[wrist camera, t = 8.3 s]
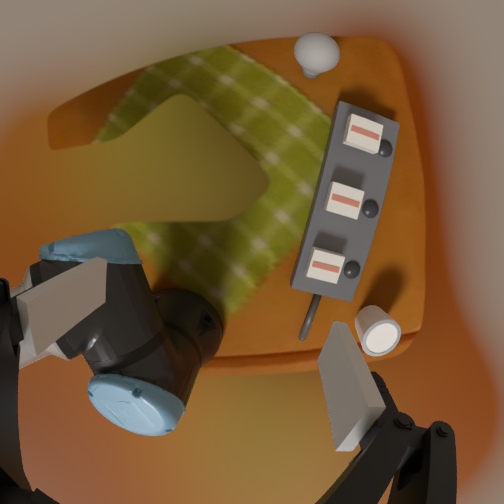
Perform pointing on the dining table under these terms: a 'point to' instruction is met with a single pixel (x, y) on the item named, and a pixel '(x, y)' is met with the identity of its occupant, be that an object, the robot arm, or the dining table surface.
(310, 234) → the power strip
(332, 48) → the lightbulb
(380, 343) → the white cup
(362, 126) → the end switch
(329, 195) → the middle switch
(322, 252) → the cord end switch
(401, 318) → the dining table surface
